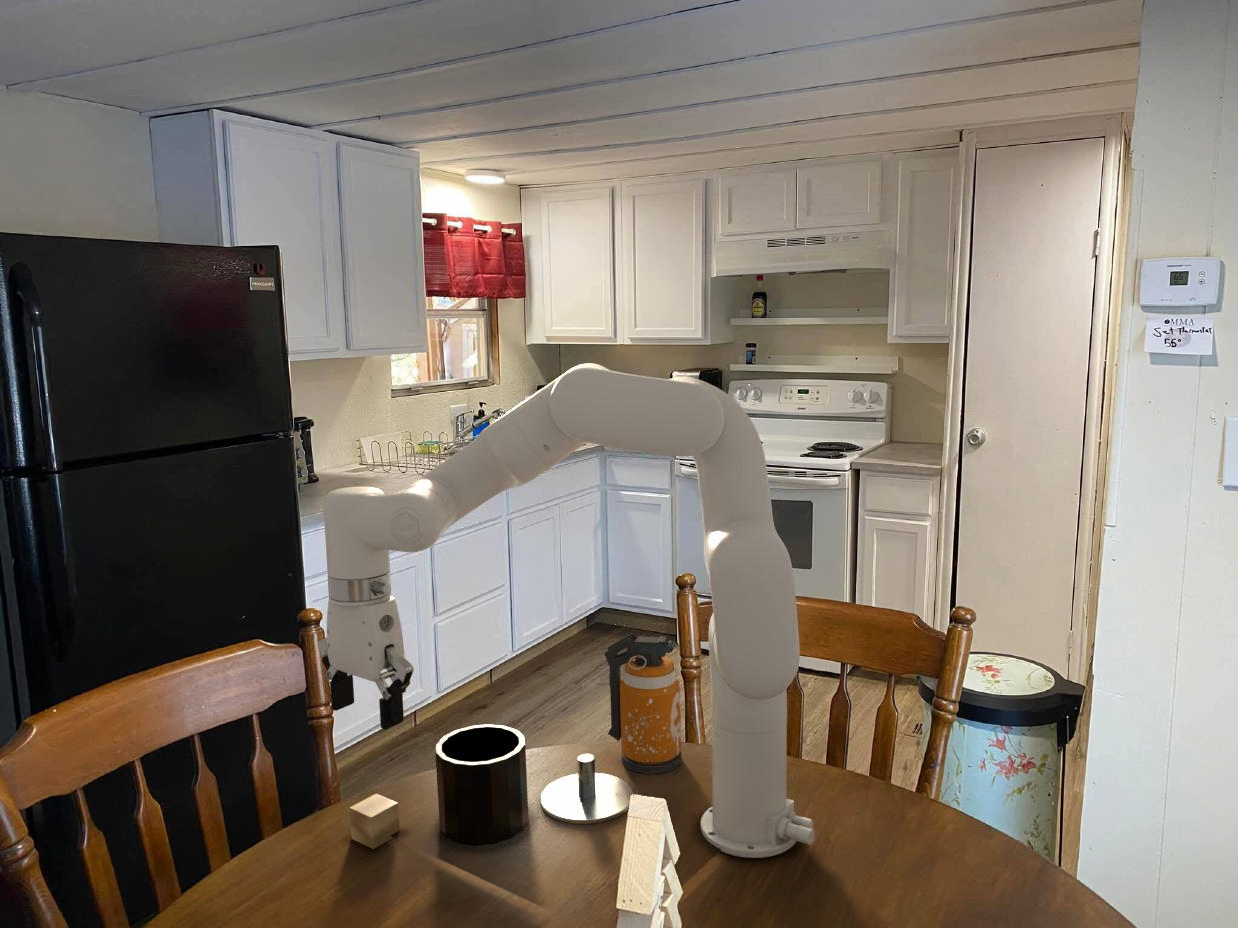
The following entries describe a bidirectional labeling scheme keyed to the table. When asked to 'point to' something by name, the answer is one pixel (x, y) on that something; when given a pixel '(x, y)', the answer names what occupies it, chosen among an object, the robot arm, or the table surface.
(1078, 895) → the table surface
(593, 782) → the lid
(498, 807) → the dark pen holder
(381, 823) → the block
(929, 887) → the table surface
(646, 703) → the canister
